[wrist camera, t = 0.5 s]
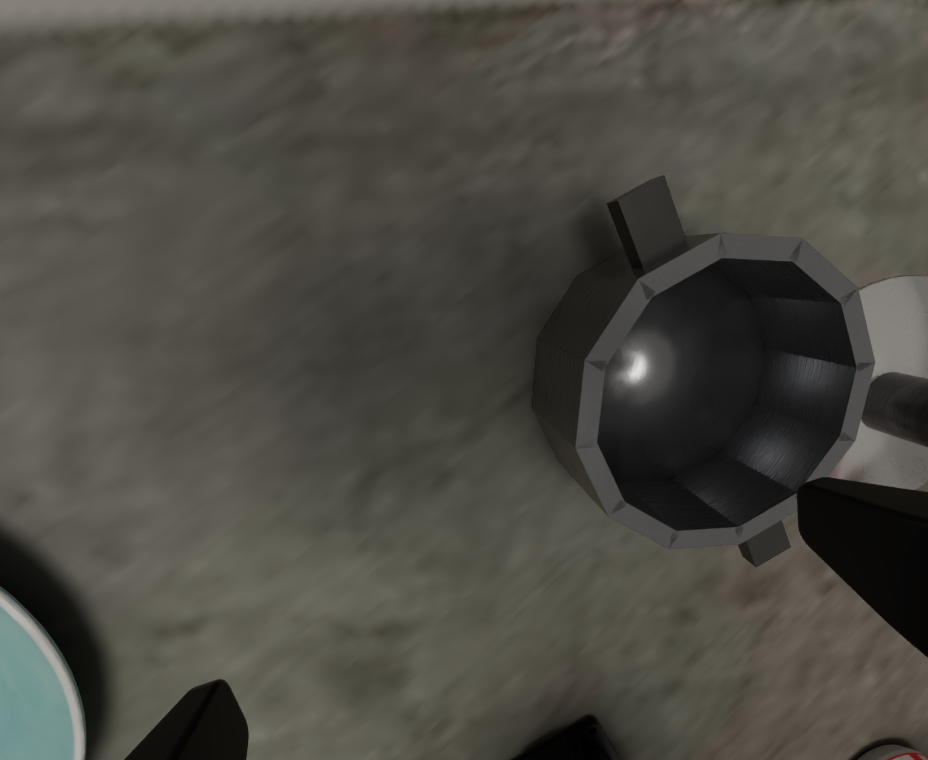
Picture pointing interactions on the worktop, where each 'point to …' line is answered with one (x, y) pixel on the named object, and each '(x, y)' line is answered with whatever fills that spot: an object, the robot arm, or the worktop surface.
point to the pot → (702, 378)
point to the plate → (36, 692)
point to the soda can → (893, 753)
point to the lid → (893, 388)
